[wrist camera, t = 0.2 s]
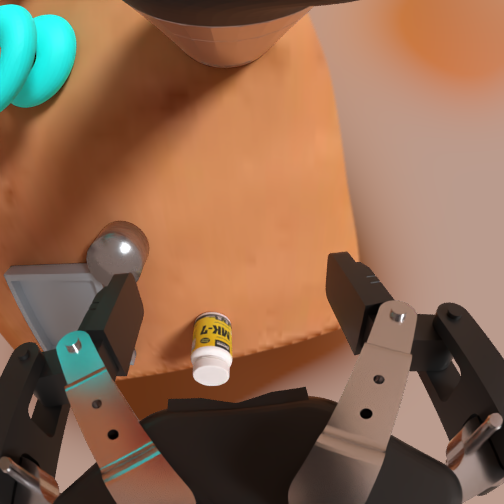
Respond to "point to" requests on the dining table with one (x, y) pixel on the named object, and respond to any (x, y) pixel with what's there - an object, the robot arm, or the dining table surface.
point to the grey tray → (53, 298)
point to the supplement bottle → (211, 349)
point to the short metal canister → (118, 252)
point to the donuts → (33, 56)
